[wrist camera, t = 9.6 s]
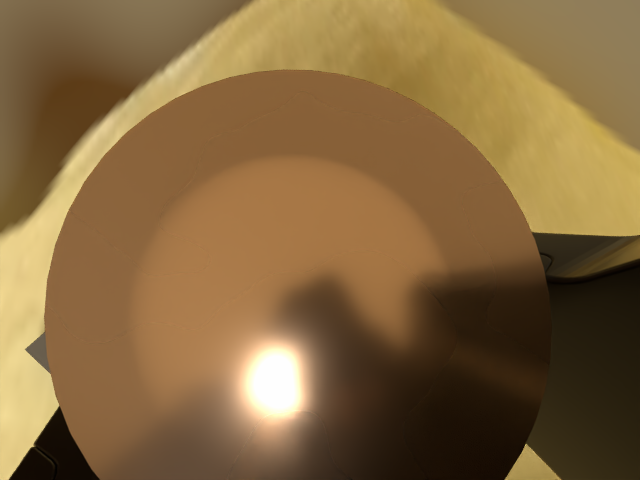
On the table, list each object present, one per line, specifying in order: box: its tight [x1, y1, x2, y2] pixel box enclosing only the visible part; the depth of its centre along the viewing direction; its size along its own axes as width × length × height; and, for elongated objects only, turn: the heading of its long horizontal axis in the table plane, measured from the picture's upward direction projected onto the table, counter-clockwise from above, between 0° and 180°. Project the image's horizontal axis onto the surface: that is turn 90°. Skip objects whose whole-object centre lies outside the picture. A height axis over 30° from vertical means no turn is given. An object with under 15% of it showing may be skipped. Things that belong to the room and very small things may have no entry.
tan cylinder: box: [44, 70, 552, 480], centre depth 9 cm, size 5×5×12 cm
